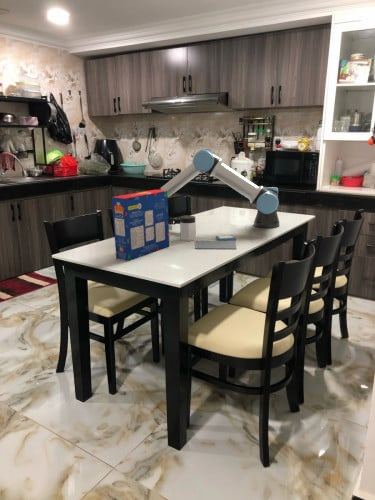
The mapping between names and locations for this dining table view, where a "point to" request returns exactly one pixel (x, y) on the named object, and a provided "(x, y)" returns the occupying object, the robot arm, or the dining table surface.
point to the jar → (187, 228)
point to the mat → (215, 245)
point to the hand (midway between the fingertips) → (182, 225)
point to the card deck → (225, 238)
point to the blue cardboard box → (140, 223)
